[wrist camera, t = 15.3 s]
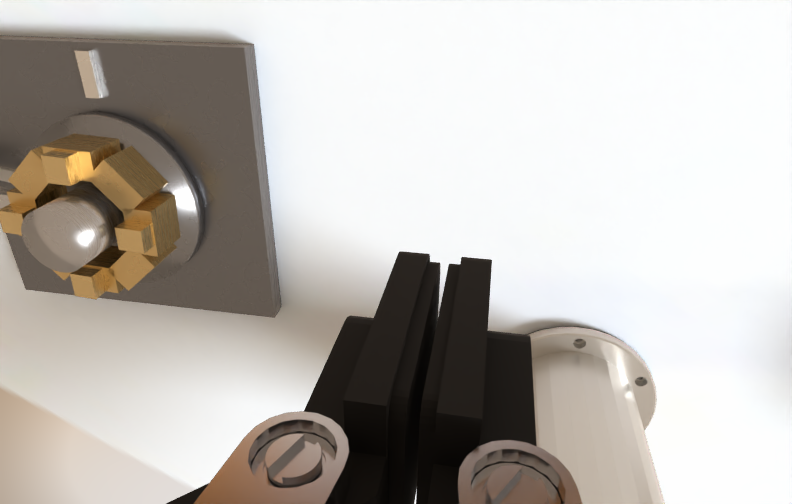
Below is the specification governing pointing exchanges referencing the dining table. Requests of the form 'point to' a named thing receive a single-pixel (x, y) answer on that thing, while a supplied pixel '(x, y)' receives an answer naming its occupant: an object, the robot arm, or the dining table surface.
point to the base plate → (162, 147)
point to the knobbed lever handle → (121, 183)
